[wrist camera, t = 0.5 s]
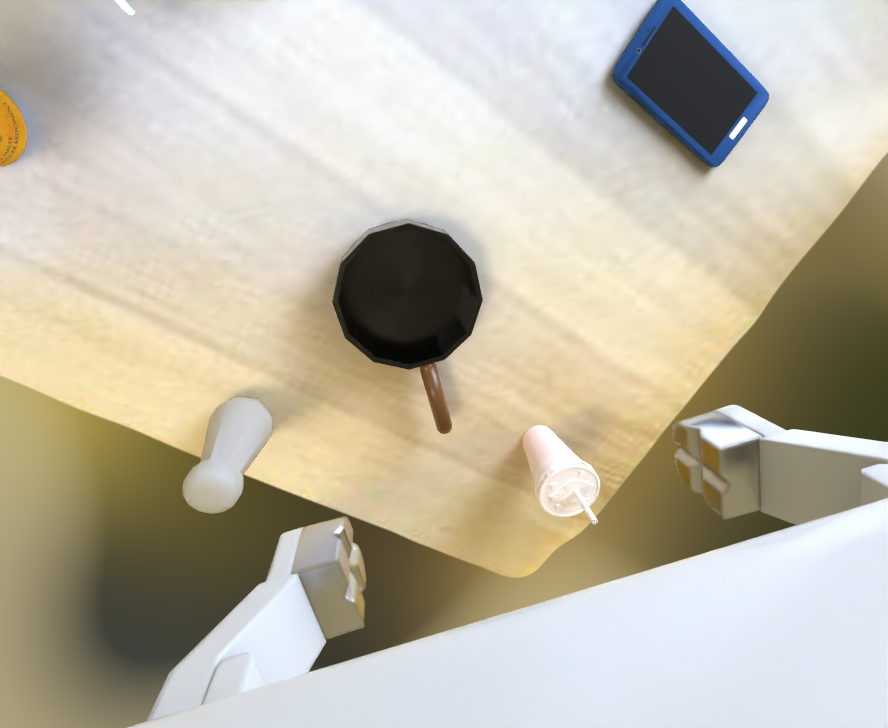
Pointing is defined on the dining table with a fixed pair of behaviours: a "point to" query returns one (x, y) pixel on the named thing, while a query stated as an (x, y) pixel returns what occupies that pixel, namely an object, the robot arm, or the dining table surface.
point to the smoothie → (559, 475)
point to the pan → (408, 301)
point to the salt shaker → (227, 454)
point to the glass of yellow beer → (11, 131)
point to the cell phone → (690, 82)
